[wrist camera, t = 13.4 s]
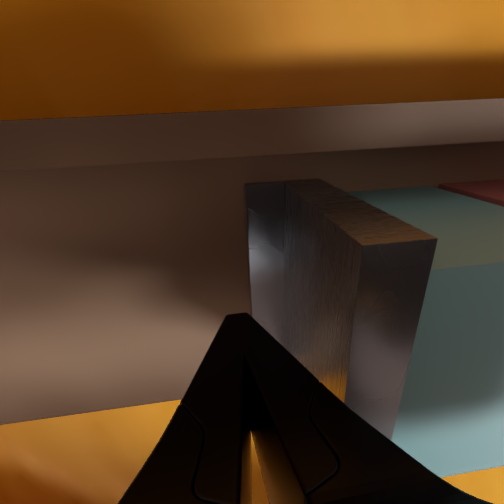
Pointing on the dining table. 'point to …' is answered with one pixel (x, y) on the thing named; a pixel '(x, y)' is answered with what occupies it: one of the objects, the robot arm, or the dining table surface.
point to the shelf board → (177, 230)
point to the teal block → (454, 333)
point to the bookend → (338, 288)
